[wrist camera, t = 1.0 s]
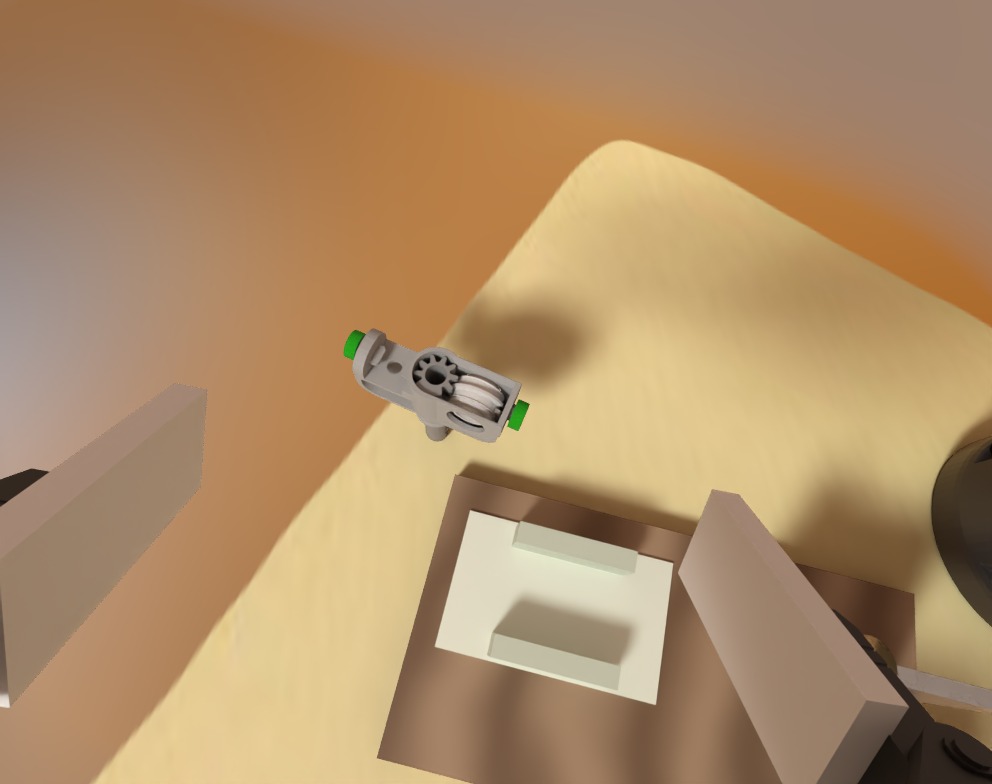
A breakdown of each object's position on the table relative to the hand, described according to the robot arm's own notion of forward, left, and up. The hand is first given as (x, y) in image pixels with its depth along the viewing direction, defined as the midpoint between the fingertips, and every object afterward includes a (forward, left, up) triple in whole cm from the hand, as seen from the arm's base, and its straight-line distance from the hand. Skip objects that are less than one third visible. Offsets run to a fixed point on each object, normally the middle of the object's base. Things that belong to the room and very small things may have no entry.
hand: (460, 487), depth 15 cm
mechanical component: (+3, -8, -24) cm, 25 cm away
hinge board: (-14, +3, -23) cm, 27 cm away
